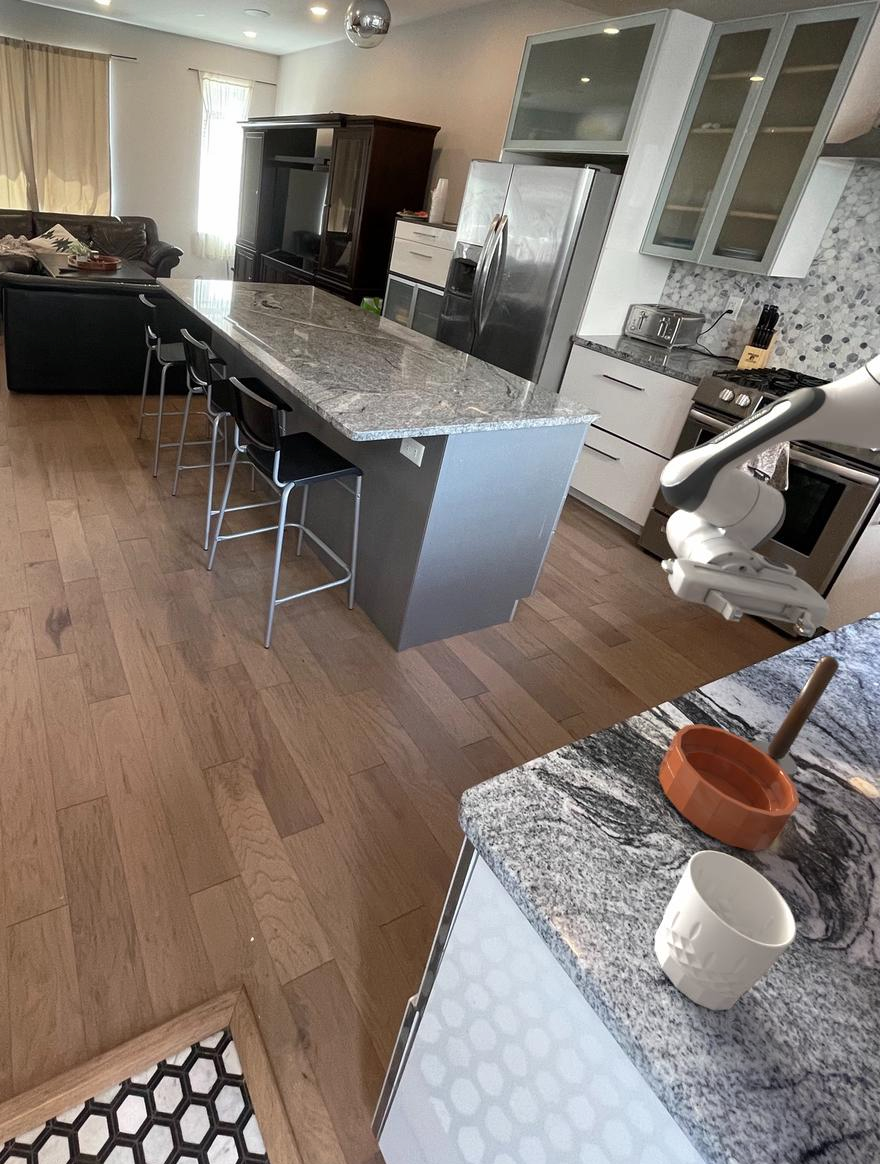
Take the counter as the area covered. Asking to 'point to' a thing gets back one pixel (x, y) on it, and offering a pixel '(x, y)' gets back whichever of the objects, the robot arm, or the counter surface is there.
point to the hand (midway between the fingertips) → (771, 624)
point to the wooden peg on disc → (799, 715)
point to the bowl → (727, 787)
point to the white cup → (722, 930)
